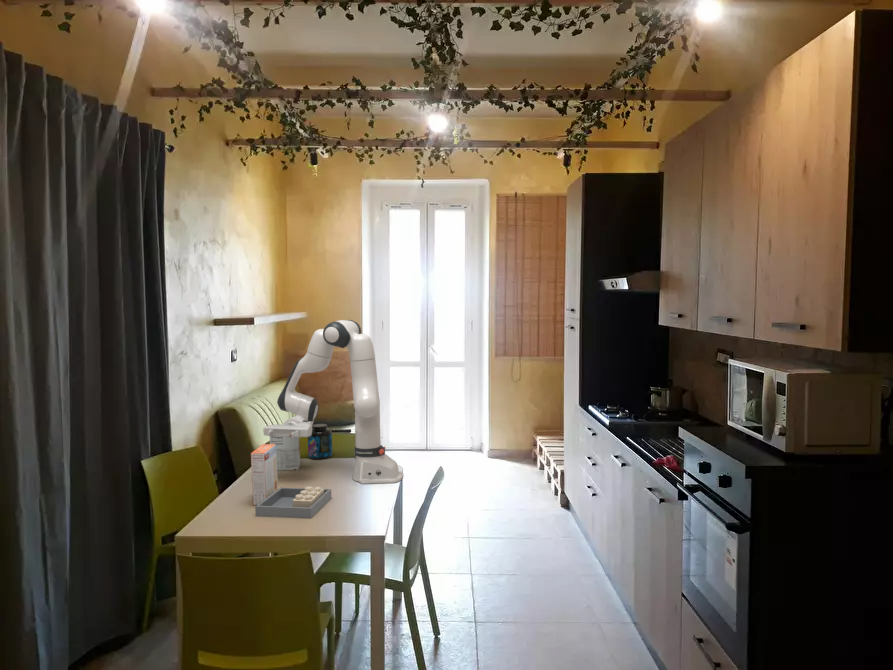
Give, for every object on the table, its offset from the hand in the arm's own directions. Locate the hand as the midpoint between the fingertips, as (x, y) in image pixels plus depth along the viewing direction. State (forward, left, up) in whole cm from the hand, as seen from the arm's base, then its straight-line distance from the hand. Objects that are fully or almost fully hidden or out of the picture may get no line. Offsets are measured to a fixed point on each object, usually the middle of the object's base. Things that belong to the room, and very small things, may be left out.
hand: (280, 434), depth 250 cm
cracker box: (0, +16, -23) cm, 28 cm away
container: (+1, -49, -23) cm, 54 cm away
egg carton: (-22, +25, -21) cm, 39 cm away
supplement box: (+12, -32, -23) cm, 41 cm away
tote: (-16, +25, -22) cm, 37 cm away
